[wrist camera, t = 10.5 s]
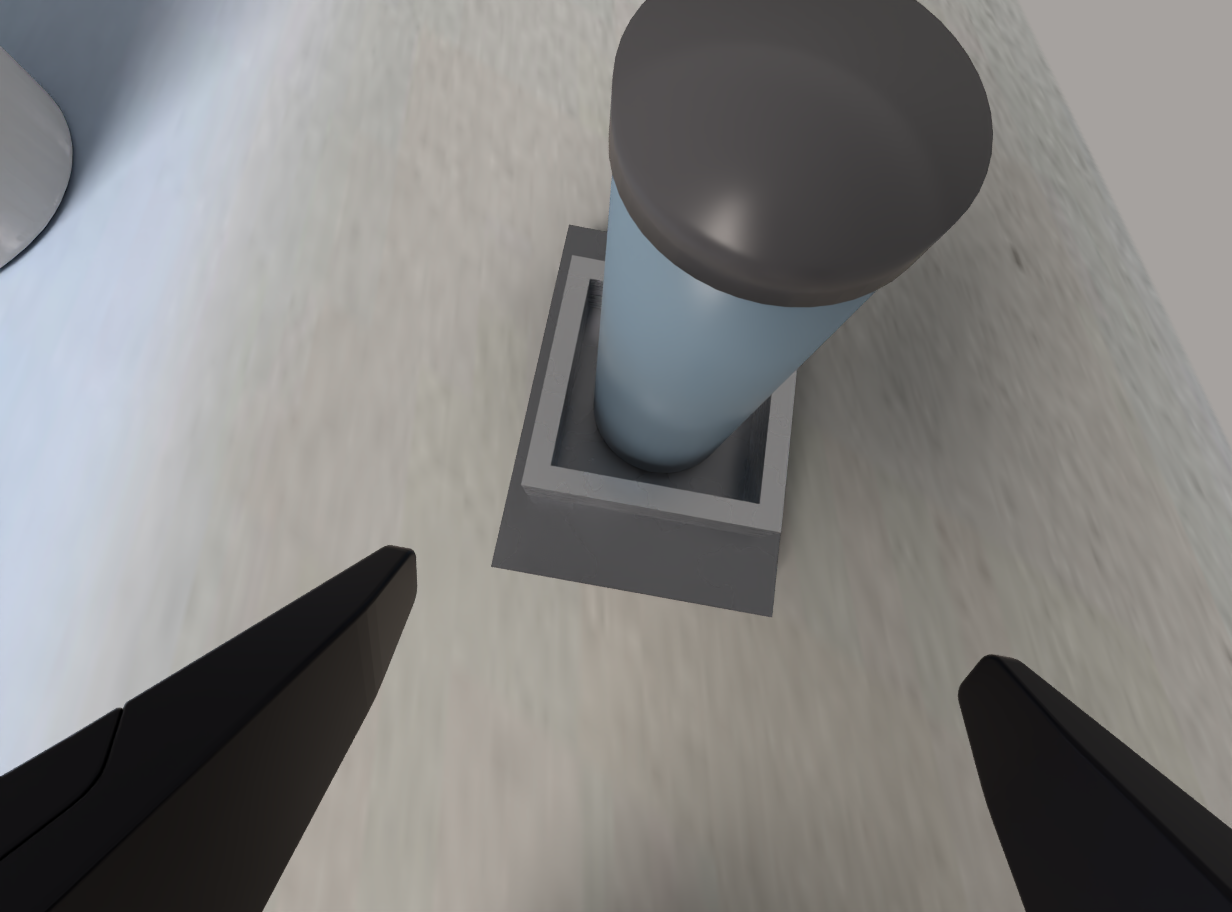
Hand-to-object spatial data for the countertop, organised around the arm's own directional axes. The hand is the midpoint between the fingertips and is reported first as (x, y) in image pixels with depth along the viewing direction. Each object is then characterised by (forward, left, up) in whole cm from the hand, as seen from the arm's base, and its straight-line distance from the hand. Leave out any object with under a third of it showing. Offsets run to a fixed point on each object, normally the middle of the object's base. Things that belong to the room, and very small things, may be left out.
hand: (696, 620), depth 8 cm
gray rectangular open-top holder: (+2, +7, -13) cm, 15 cm away
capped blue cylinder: (+2, +7, -10) cm, 12 cm away
